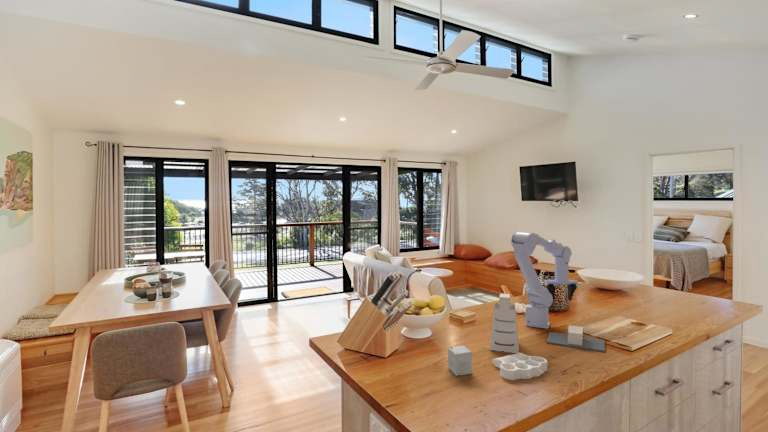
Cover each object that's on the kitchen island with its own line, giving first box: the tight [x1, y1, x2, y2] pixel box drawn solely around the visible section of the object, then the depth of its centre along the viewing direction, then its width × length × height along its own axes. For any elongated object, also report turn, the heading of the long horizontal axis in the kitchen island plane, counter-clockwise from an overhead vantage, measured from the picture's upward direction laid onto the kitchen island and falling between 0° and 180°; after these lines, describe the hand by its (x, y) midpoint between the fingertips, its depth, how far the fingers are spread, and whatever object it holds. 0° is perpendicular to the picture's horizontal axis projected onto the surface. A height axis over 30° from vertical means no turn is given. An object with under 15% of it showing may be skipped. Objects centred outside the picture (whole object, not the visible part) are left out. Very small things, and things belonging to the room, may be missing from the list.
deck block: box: [567, 324, 584, 346], centre depth 152 cm, size 9×5×4 cm, turn 152°
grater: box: [489, 293, 520, 354], centre depth 148 cm, size 10×10×20 cm
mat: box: [546, 331, 606, 353], centre depth 152 cm, size 20×12×1 cm, turn 61°
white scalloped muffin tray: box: [491, 352, 548, 381], centre depth 128 cm, size 3×18×15 cm
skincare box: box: [447, 345, 473, 377], centre depth 128 cm, size 6×6×7 cm
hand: (561, 300), depth 178 cm, fingers open, 7 cm apart
